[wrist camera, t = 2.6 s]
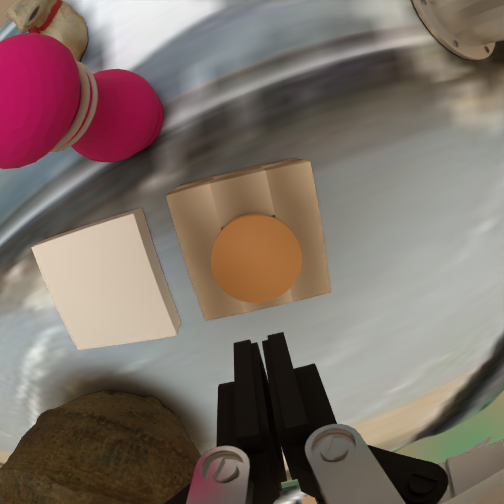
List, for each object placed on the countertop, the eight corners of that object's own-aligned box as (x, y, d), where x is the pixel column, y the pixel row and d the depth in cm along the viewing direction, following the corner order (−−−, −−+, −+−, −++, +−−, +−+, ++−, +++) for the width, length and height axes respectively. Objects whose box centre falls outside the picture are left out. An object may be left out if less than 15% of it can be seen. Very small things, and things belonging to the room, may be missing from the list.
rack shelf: (141, 207, 26) (133, 213, 24) (180, 321, 30) (177, 335, 28) (44, 239, 27) (31, 247, 24) (86, 337, 31) (78, 349, 28)
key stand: (293, 158, 26) (310, 161, 20) (313, 264, 29) (331, 292, 23) (180, 184, 26) (165, 195, 20) (210, 287, 29) (205, 320, 24)
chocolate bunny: (98, -2, 19) (52, -44, 9) (84, 66, 21) (24, 41, 12) (54, 9, 18) (1, -22, 9) (39, 75, 21) (-24, 60, 12)
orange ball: (277, 191, 25) (293, 207, 18) (290, 255, 26) (308, 291, 20) (209, 206, 25) (199, 229, 18) (226, 269, 26) (223, 310, 20)
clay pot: (257, 404, 35) (276, 596, 11) (185, 481, 41) (178, 601, 18) (62, 318, 30) (-54, 488, 6) (49, 424, 36) (0, 538, 13)
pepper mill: (170, 155, 25) (21, 186, 6) (95, 163, 25) (-87, 214, 6) (169, 75, 23) (44, -41, 4) (94, 88, 22) (-80, 44, 3)
